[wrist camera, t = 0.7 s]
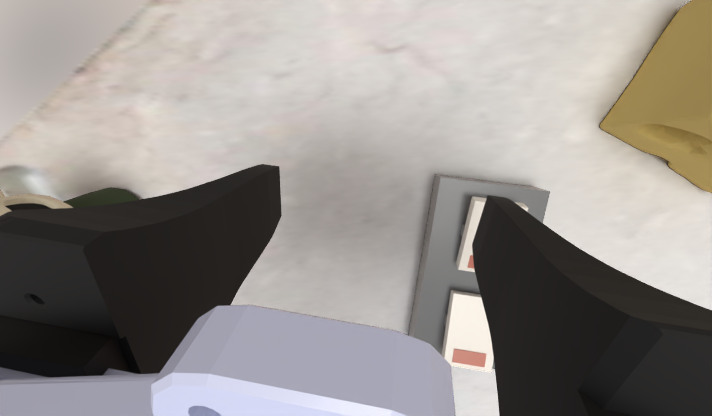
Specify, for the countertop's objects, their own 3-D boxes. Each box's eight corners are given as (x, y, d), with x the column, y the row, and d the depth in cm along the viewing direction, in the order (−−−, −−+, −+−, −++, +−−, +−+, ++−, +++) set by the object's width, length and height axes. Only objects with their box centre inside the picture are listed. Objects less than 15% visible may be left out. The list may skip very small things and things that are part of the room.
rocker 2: (487, 366, 27) (492, 373, 25) (441, 358, 27) (443, 365, 26) (497, 297, 26) (502, 301, 25) (451, 290, 27) (453, 293, 26)
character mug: (183, 251, 32) (48, 322, 19) (126, 284, 33) (-36, 372, 20) (116, 149, 31) (-76, 153, 18) (60, 188, 32) (-158, 216, 19)
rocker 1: (503, 269, 26) (507, 277, 25) (455, 263, 26) (458, 270, 25) (523, 203, 24) (529, 208, 23) (472, 196, 24) (475, 201, 23)
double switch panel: (497, 349, 31) (512, 377, 27) (408, 335, 31) (410, 360, 28) (534, 186, 28) (556, 193, 24) (435, 174, 28) (442, 178, 25)
